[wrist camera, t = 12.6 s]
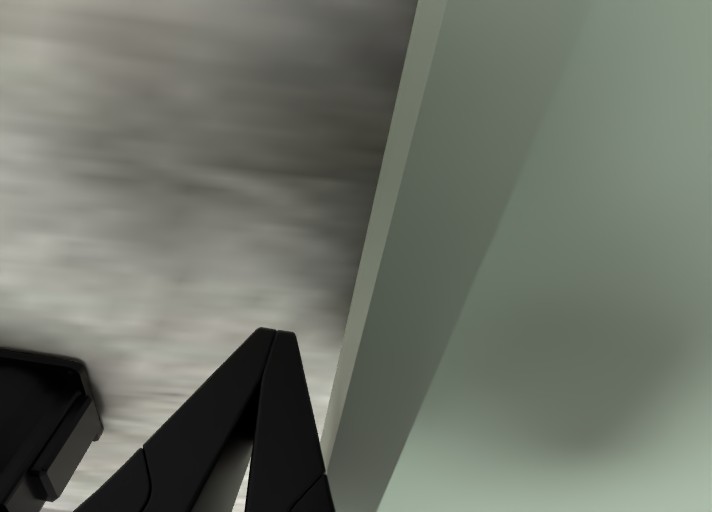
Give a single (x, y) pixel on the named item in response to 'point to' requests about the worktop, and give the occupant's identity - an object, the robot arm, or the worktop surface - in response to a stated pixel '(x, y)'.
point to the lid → (536, 268)
